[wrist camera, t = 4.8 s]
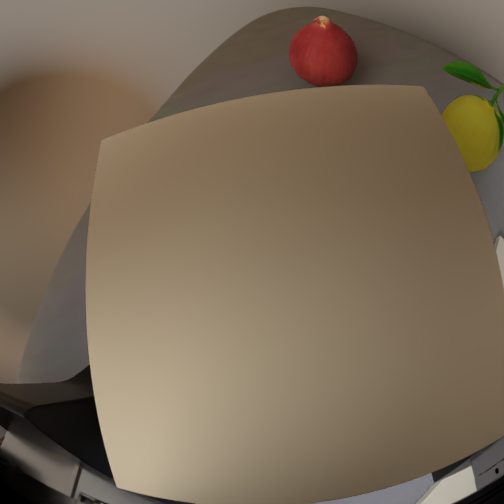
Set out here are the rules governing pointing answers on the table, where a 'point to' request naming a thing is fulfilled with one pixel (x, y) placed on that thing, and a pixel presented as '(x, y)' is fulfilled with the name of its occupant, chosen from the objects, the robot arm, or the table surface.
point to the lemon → (474, 120)
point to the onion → (323, 53)
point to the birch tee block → (291, 299)
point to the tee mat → (463, 483)
